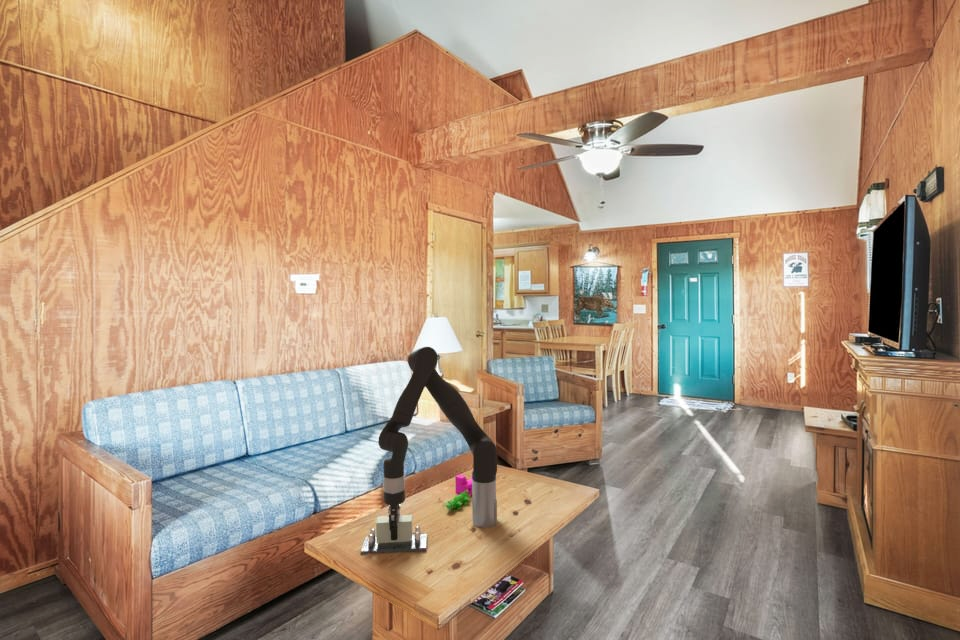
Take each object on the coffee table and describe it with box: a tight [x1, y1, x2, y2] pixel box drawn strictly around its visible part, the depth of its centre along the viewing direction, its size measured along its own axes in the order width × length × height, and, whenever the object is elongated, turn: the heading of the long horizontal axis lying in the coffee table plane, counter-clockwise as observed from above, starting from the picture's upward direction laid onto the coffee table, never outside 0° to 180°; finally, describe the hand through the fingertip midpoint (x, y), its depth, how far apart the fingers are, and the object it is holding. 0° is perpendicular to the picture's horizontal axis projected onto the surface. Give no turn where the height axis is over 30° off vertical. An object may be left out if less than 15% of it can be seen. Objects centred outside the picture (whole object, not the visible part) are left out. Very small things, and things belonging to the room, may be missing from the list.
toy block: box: [455, 474, 472, 495], centre depth 218 cm, size 15×6×8 cm, turn 141°
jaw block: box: [375, 514, 413, 543], centre depth 168 cm, size 5×12×7 cm, turn 96°
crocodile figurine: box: [444, 490, 472, 512], centre depth 202 cm, size 7×18×4 cm, turn 151°
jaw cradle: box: [360, 525, 428, 555], centre depth 168 cm, size 22×10×5 cm, turn 95°
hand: (394, 535), depth 168 cm, fingers closed on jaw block, 5 cm apart
